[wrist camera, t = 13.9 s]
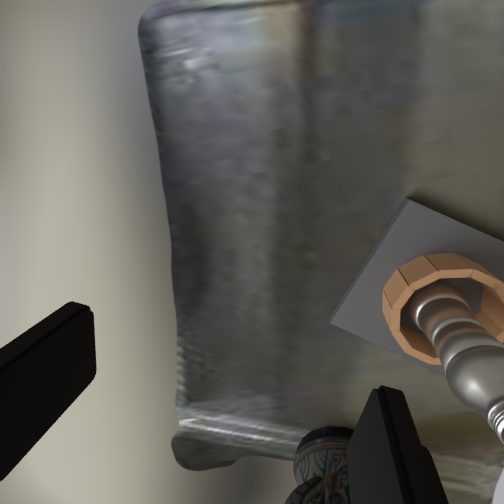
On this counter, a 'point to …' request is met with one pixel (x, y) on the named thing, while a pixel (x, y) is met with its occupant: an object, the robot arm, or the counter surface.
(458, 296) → the plastic bottle
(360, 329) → the duct base
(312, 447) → the beer stein
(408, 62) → the counter surface
